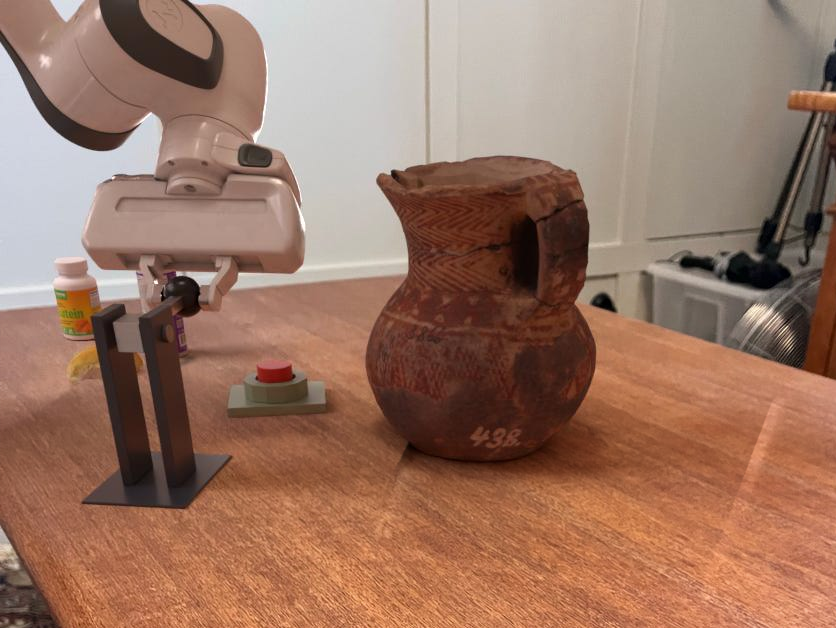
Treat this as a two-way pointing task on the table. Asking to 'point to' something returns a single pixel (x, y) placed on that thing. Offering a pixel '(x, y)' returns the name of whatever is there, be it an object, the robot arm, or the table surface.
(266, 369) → the button
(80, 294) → the supplement bottle
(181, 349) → the container
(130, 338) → the ball knob lever
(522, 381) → the jug
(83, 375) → the yellow curved piece
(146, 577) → the table surface
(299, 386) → the switch box
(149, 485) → the dark wooden stand
